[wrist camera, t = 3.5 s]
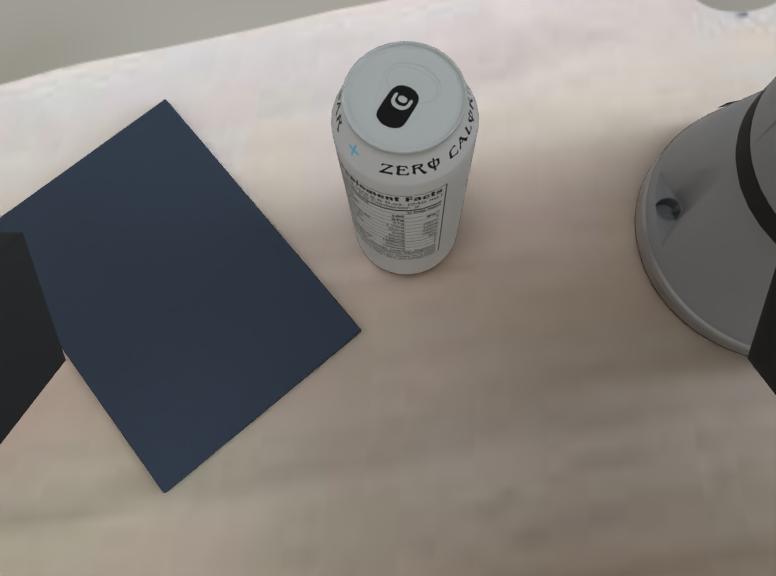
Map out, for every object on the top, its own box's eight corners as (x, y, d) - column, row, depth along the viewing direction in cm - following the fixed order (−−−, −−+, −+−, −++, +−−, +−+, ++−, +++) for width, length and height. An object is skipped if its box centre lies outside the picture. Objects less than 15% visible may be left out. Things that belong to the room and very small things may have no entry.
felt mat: (361, 331, 38) (361, 329, 37) (166, 492, 36) (163, 493, 35) (167, 102, 42) (165, 98, 42) (-16, 234, 40) (-21, 231, 40)
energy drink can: (474, 214, 39) (511, 69, 25) (424, 296, 38) (433, 195, 23) (389, 169, 40) (377, 3, 26) (338, 248, 39) (295, 121, 24)
